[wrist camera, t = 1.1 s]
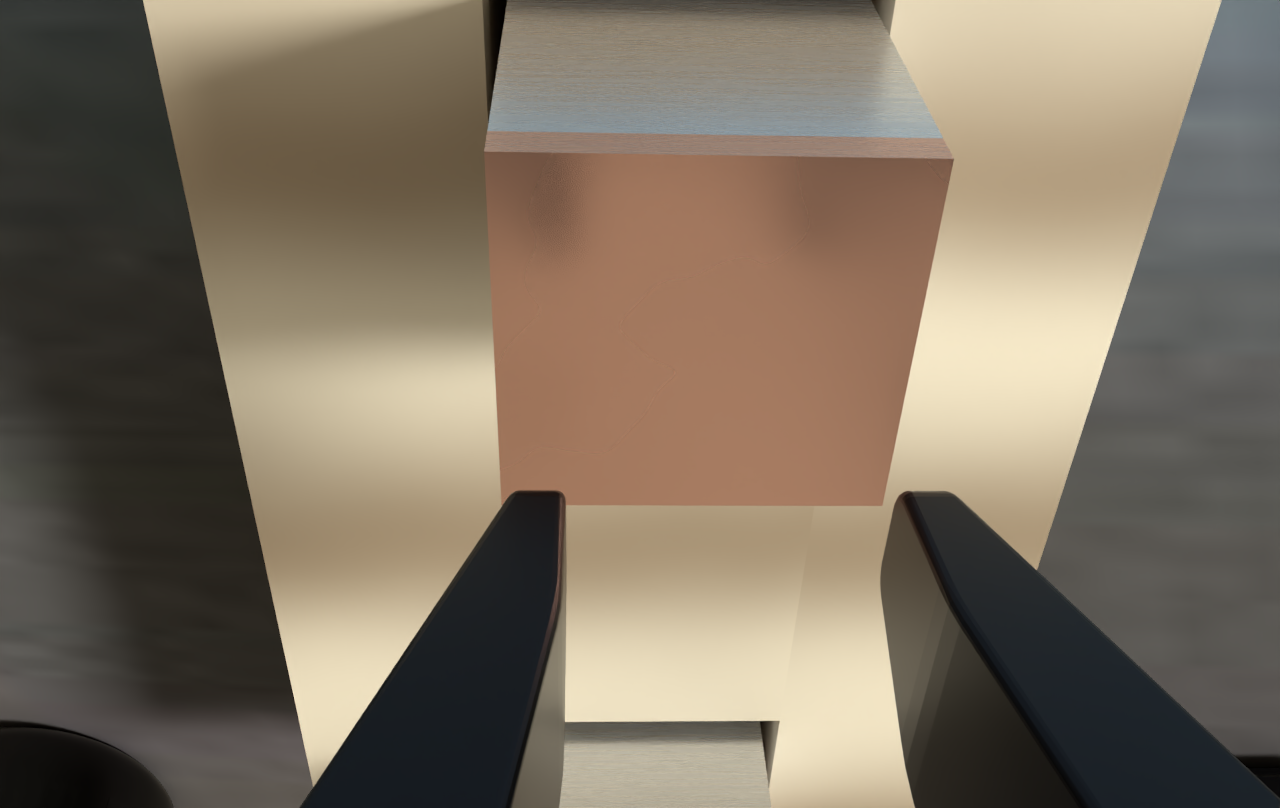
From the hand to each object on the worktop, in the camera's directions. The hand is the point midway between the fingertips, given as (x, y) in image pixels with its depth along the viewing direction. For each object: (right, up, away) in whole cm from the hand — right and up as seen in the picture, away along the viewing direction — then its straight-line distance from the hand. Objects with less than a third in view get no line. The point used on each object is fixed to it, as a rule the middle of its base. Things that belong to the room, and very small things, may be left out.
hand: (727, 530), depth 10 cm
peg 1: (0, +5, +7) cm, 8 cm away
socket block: (-1, +2, +14) cm, 14 cm away
